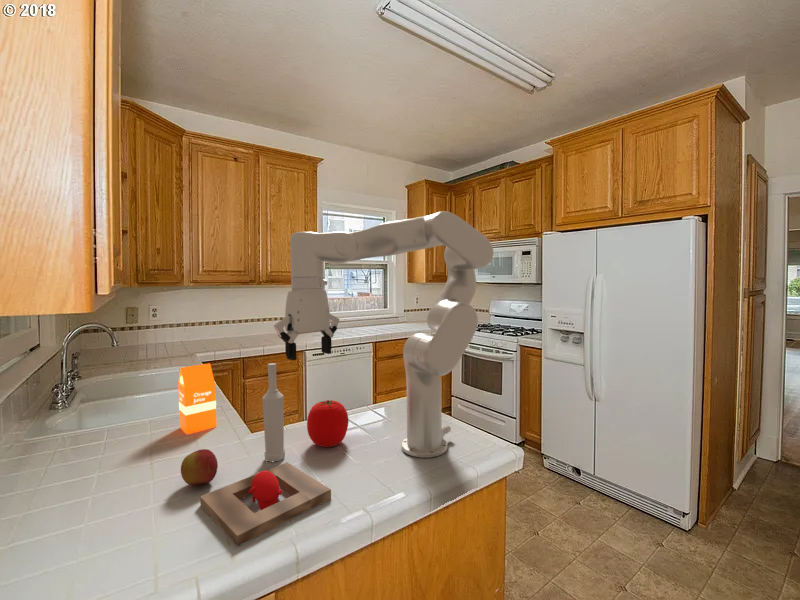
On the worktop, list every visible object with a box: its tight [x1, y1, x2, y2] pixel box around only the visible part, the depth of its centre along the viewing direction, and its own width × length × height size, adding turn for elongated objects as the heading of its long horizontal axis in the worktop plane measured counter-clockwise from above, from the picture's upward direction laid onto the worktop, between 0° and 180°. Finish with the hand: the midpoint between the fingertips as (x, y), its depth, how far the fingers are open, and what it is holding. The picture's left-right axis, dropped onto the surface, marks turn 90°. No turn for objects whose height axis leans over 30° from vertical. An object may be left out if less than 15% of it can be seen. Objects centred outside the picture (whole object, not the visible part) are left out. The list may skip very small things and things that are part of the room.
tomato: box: [306, 399, 349, 448], centre depth 109 cm, size 12×12×13 cm
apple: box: [180, 448, 219, 486], centre depth 88 cm, size 8×8×8 cm
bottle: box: [262, 362, 286, 462], centre depth 100 cm, size 5×5×25 cm
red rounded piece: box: [249, 470, 284, 511], centre depth 80 cm, size 8×6×6 cm
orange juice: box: [177, 363, 218, 435], centre depth 122 cm, size 8×9×20 cm
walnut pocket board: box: [199, 461, 332, 547], centre depth 81 cm, size 20×18×2 cm
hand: (309, 356), depth 92 cm, fingers open, 9 cm apart
